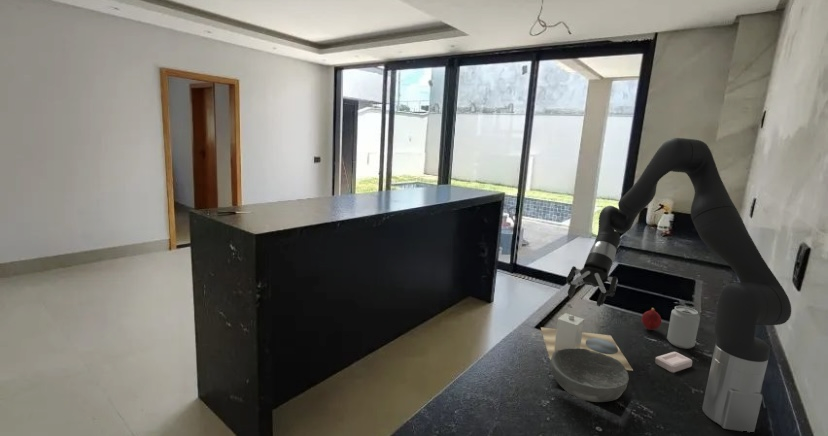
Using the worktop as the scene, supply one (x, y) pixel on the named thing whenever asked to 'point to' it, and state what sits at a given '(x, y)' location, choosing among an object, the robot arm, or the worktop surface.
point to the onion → (651, 319)
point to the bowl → (589, 374)
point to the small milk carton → (568, 332)
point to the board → (589, 345)
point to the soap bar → (673, 362)
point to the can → (683, 327)
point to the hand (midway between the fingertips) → (583, 300)
